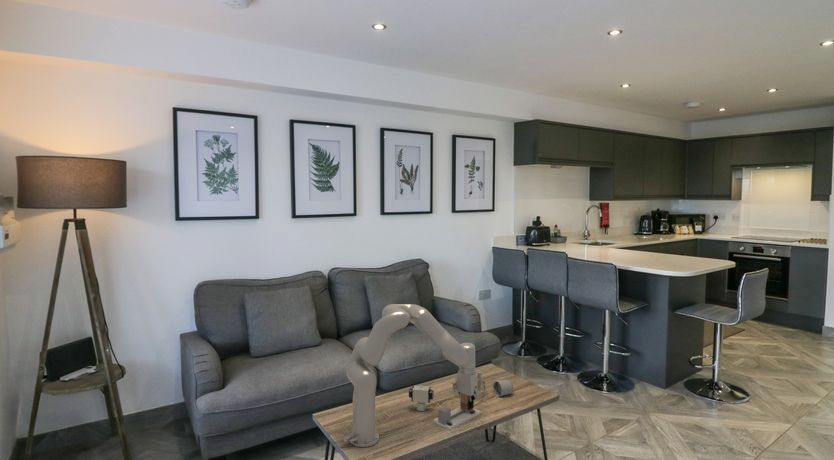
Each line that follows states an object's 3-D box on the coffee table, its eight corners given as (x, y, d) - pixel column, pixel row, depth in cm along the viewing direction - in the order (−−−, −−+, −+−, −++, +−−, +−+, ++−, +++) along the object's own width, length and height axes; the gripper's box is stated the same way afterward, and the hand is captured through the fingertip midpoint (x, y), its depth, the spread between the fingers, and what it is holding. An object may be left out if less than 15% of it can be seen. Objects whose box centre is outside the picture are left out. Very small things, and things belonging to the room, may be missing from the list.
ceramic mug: (514, 395, 237) (514, 381, 236) (501, 398, 233) (501, 384, 233) (501, 388, 246) (501, 374, 246) (489, 391, 242) (489, 377, 242)
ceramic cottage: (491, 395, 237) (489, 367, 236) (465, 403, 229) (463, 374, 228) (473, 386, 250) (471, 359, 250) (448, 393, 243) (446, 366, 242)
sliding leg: (471, 413, 213) (471, 397, 212) (460, 408, 217) (460, 392, 217) (478, 410, 216) (478, 394, 215) (467, 405, 221) (467, 389, 220)
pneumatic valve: (432, 412, 218) (432, 388, 217) (408, 410, 221) (408, 386, 220) (434, 407, 224) (434, 383, 223) (411, 405, 226) (410, 382, 225)
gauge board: (449, 430, 202) (449, 414, 201) (433, 422, 209) (433, 406, 209) (480, 413, 217) (480, 399, 217) (464, 406, 224) (464, 392, 224)
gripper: (448, 366, 220) (448, 403, 221) (476, 376, 208) (475, 415, 209) (459, 362, 225) (458, 398, 226) (486, 372, 213) (485, 410, 214)
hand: (467, 406), depth 218 cm, fingers closed on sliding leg, 4 cm apart
